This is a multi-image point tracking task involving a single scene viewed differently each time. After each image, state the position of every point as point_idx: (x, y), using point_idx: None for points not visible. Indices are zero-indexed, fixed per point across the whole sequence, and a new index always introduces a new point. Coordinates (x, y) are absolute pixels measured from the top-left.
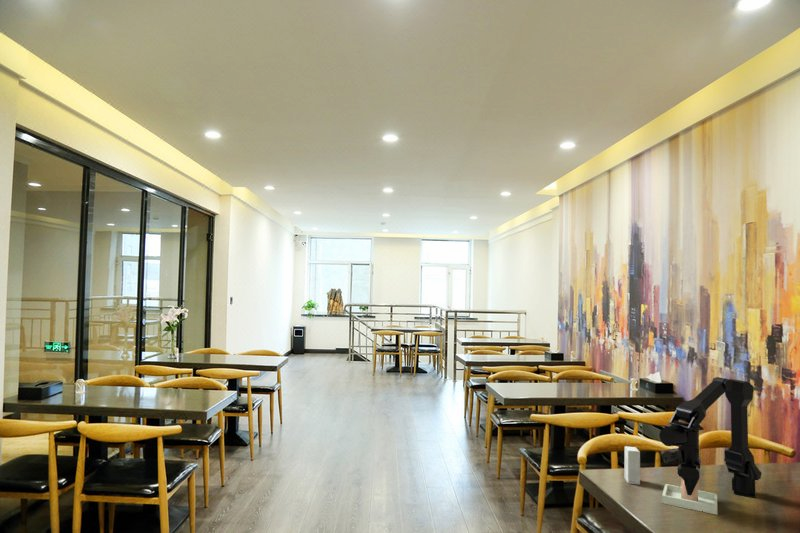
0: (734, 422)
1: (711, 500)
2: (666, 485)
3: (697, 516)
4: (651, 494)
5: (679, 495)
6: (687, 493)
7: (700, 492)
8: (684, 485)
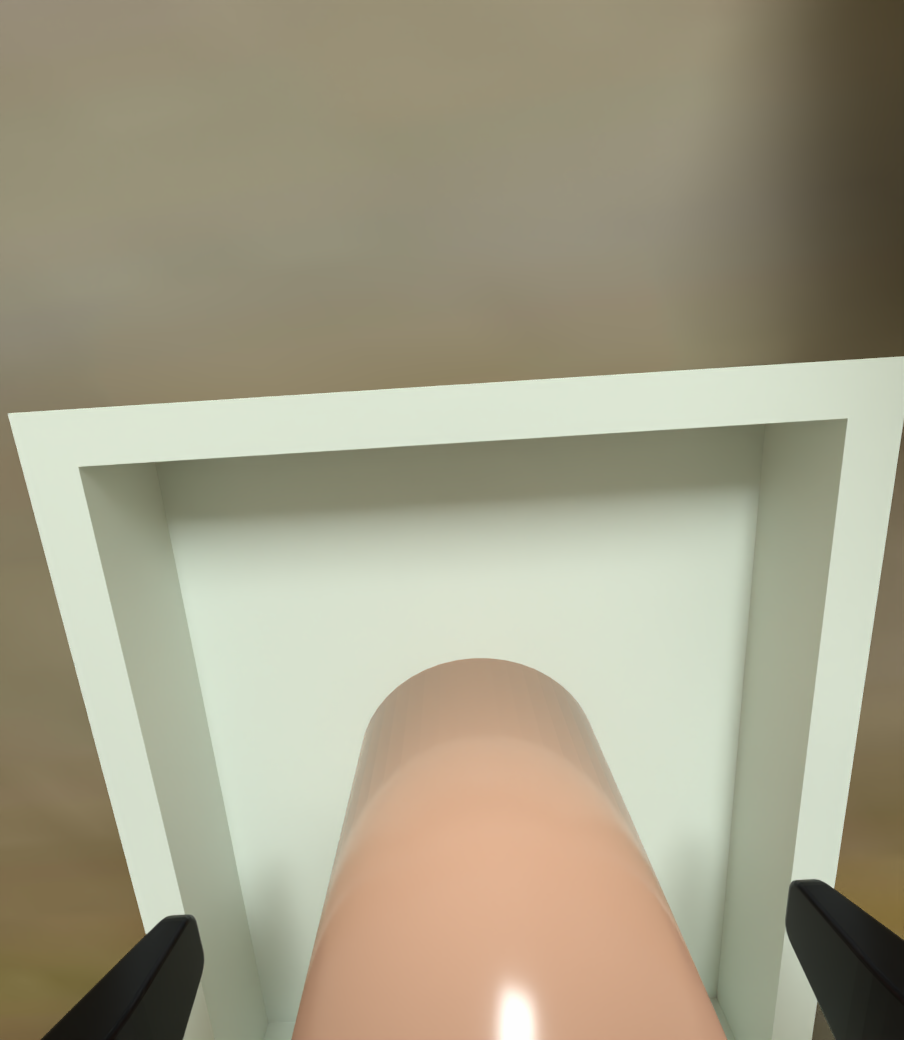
0: None
1: None
2: (797, 399)
3: (4, 864)
4: (438, 156)
5: (608, 619)
6: (140, 948)
7: (767, 935)
8: (304, 1013)
